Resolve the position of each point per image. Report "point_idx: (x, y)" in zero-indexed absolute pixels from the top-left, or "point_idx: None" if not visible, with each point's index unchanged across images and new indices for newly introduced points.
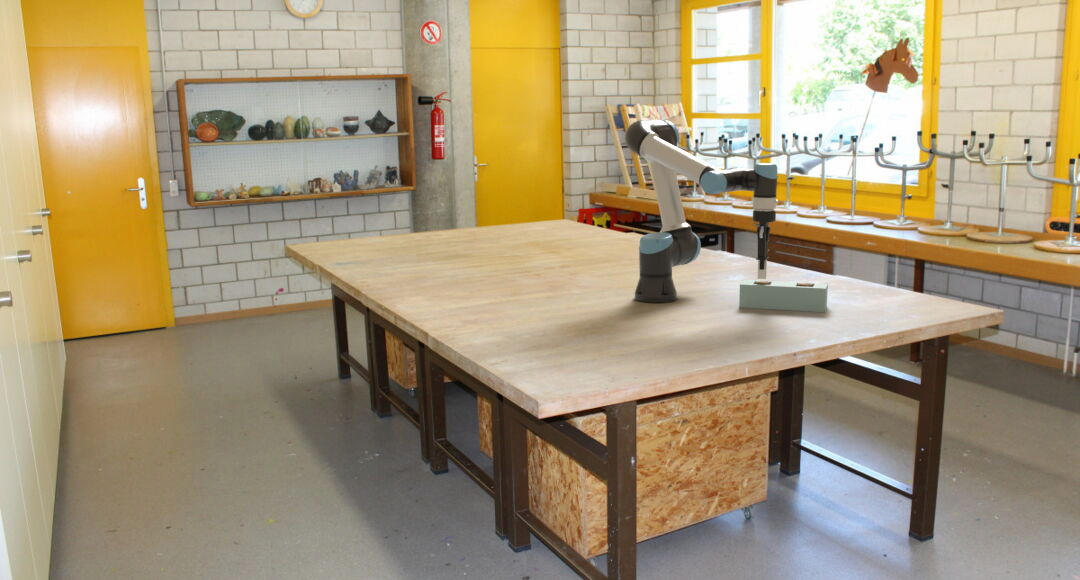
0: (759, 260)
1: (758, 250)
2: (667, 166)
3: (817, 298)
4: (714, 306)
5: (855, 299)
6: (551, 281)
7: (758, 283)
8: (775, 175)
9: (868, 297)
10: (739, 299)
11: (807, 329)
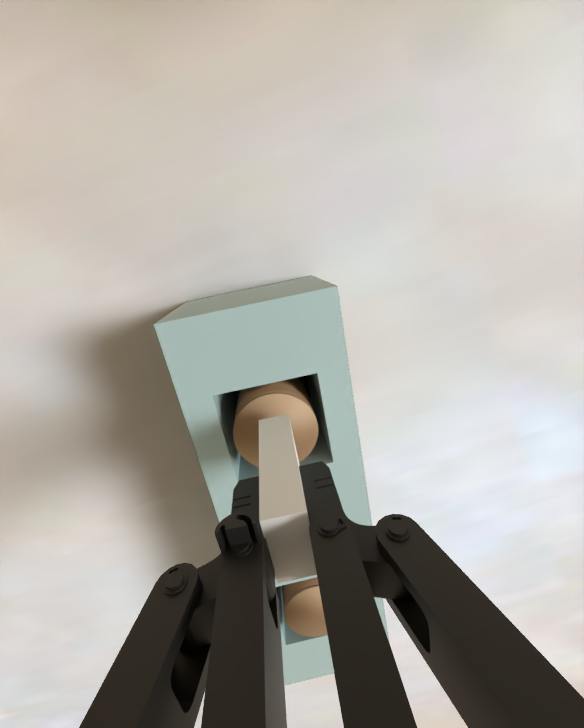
0: (261, 527)
1: (94, 719)
2: None
3: None
4: (151, 165)
5: (507, 589)
6: None
7: (234, 422)
8: None
9: (545, 606)
10: (178, 307)
11: (4, 619)
